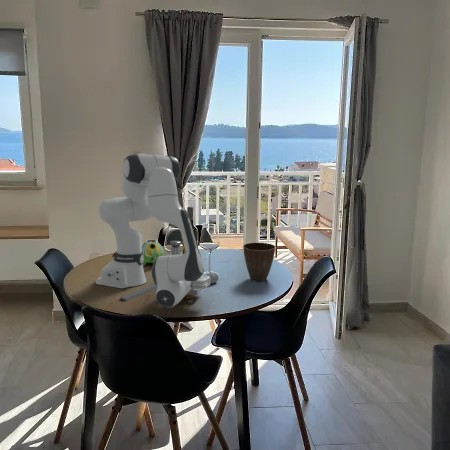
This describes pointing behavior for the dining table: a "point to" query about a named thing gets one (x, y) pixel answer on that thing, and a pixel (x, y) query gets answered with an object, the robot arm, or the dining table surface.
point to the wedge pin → (189, 296)
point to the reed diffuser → (213, 277)
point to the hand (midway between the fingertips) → (190, 274)
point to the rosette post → (175, 251)
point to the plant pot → (258, 260)
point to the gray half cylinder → (139, 292)
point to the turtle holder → (151, 251)
